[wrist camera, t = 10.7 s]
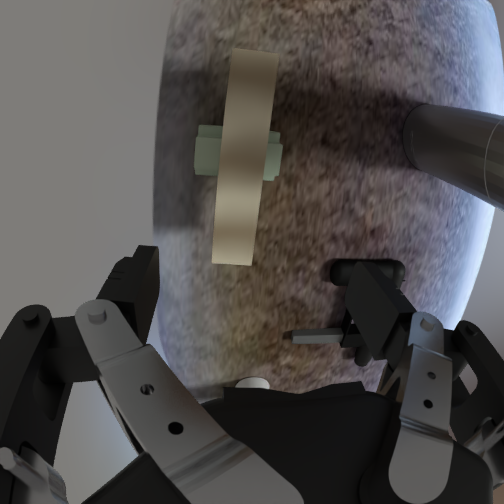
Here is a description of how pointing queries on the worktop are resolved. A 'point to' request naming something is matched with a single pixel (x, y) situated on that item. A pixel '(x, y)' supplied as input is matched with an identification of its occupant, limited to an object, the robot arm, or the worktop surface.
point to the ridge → (211, 147)
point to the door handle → (348, 331)
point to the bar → (243, 154)
